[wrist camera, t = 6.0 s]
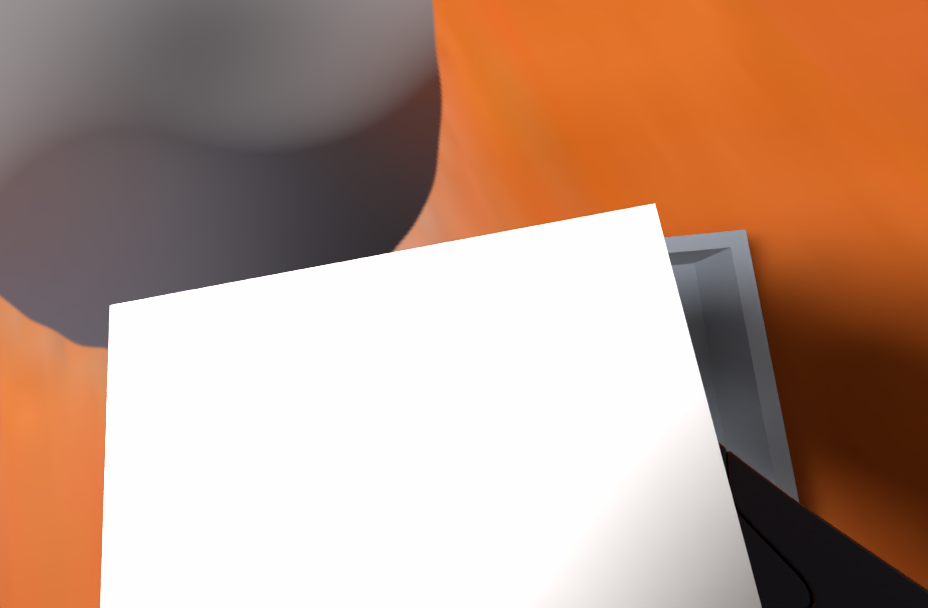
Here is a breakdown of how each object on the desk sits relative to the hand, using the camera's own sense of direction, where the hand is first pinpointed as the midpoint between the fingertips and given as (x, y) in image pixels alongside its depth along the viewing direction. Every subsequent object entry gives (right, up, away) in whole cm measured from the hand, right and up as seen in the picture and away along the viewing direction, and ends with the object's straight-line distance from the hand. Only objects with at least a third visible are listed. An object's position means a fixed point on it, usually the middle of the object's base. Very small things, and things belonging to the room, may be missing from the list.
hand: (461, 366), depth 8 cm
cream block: (+1, -2, +6) cm, 7 cm away
